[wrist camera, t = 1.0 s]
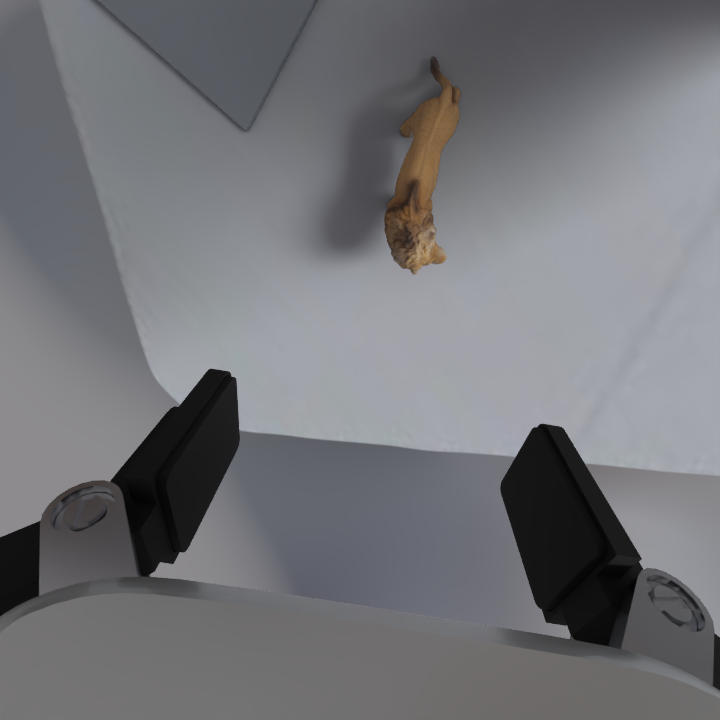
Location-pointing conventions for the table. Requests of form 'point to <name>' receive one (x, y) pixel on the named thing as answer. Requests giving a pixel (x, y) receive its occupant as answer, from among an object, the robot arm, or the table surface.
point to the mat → (220, 44)
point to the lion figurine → (421, 179)
